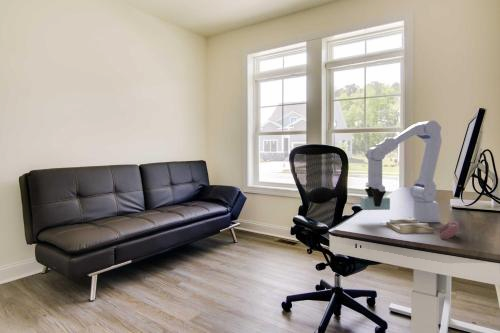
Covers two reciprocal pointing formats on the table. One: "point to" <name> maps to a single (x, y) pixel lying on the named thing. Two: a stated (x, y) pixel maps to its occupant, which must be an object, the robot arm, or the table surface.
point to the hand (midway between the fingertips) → (374, 205)
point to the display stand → (409, 226)
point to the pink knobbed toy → (449, 230)
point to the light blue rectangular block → (368, 203)
